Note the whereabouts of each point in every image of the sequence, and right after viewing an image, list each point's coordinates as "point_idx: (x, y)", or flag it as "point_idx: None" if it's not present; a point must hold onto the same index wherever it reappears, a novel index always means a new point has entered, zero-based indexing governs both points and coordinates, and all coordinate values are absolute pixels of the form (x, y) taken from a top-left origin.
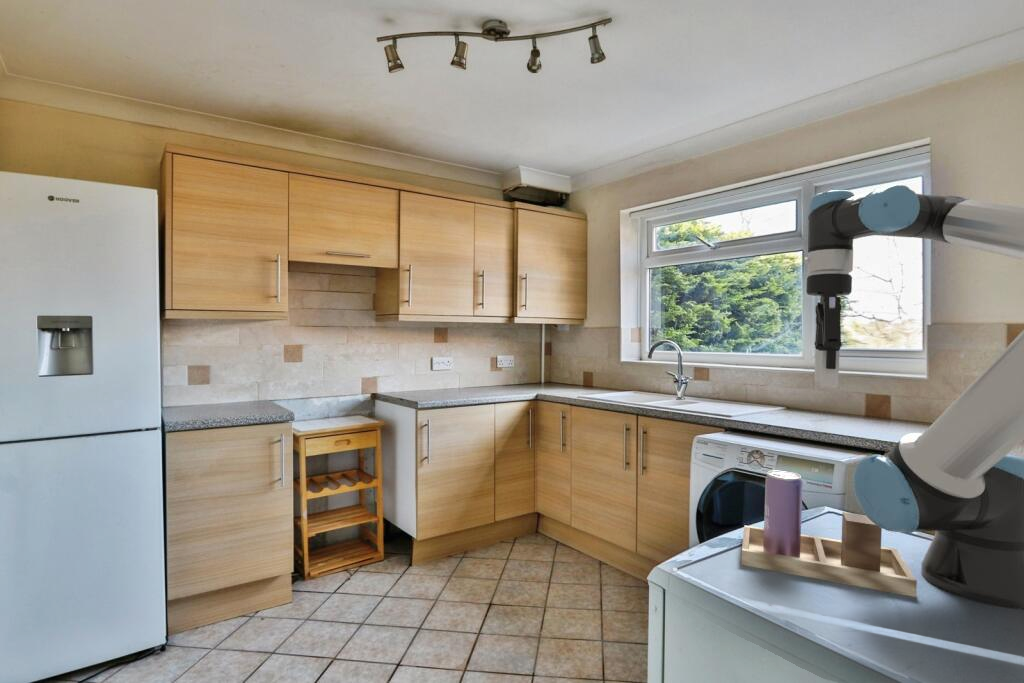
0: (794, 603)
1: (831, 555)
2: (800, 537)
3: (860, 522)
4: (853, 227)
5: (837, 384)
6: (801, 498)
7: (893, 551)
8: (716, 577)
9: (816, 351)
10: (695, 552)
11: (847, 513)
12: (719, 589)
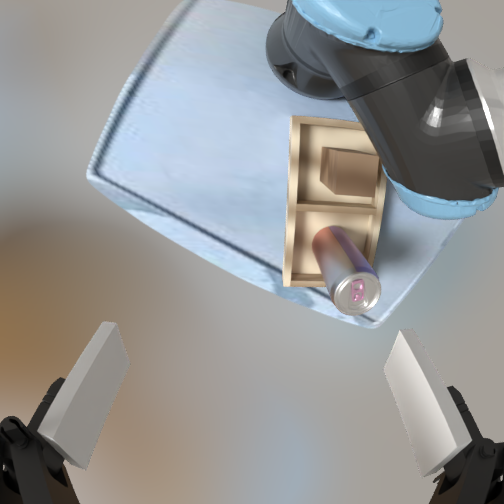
0: (417, 236)
1: (299, 187)
2: (343, 235)
3: (375, 180)
4: None
5: (417, 338)
6: (360, 257)
7: (304, 121)
8: (385, 294)
9: (86, 463)
10: (333, 314)
11: (339, 188)
12: (405, 289)
